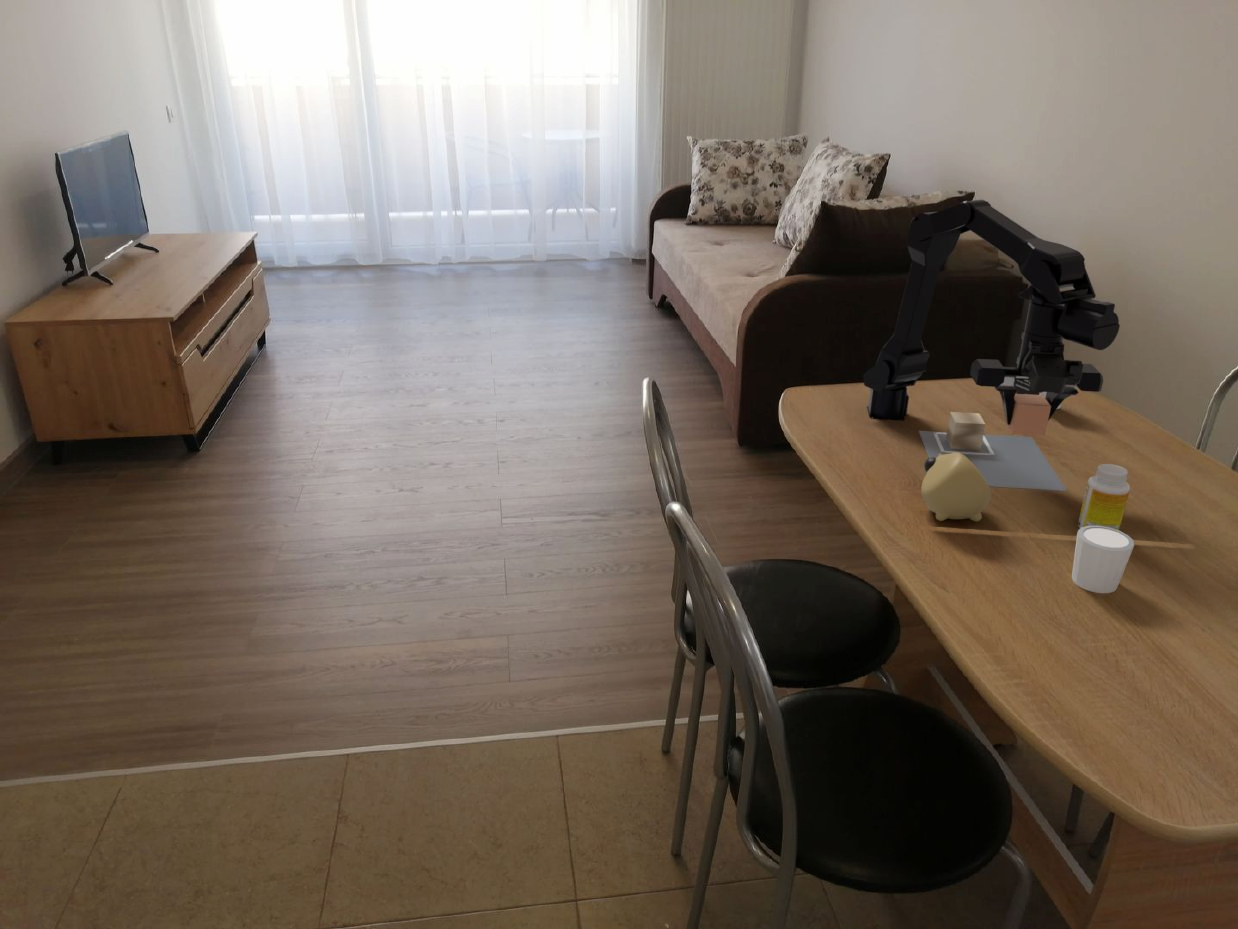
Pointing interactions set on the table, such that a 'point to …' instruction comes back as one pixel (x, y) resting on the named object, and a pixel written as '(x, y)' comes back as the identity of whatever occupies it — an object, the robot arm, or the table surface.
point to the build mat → (1002, 460)
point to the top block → (1029, 415)
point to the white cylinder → (1100, 558)
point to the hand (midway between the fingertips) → (1025, 424)
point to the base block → (965, 431)
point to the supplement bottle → (1105, 497)
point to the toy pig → (954, 487)
